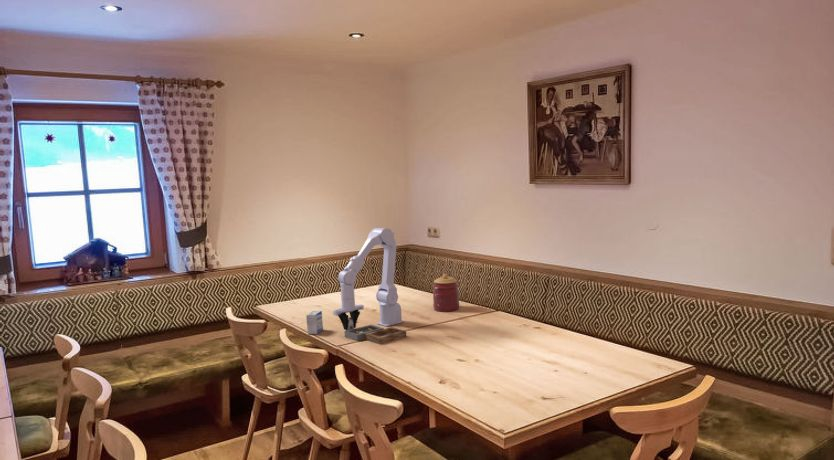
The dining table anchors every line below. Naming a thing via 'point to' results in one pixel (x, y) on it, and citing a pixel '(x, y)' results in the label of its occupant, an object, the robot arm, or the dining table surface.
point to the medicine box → (314, 322)
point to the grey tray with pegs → (361, 332)
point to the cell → (350, 323)
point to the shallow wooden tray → (385, 335)
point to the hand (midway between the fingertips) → (349, 328)
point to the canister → (445, 294)
